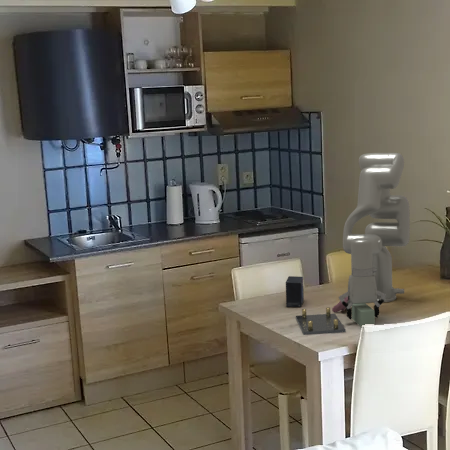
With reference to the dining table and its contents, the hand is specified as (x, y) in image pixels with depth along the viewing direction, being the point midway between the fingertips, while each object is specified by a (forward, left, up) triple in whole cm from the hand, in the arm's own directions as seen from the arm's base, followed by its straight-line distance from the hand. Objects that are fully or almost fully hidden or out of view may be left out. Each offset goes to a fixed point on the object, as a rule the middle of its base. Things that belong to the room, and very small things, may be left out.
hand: (362, 317), depth 262 cm
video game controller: (+4, -18, -2) cm, 18 cm away
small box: (+21, -30, -2) cm, 37 cm away
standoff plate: (+16, 0, -2) cm, 16 cm away
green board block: (0, 0, -2) cm, 2 cm away
